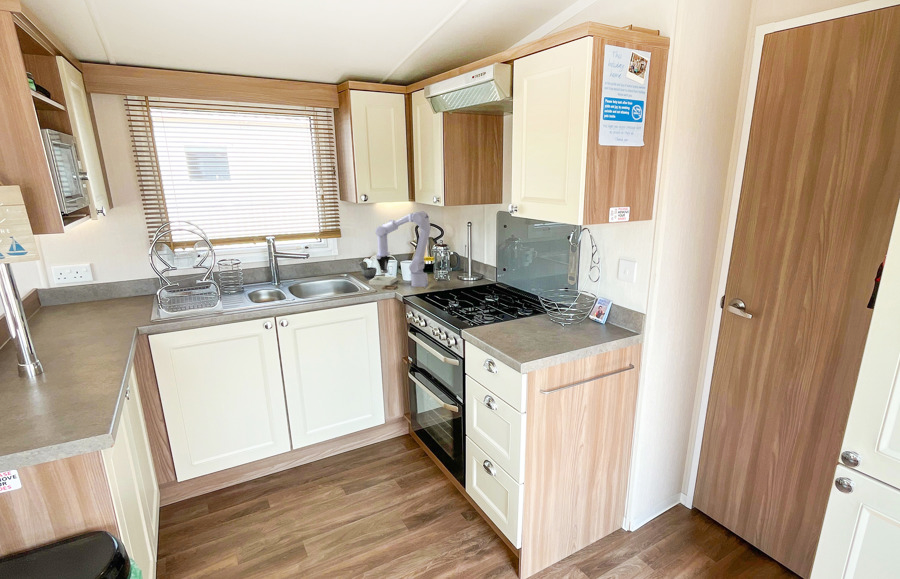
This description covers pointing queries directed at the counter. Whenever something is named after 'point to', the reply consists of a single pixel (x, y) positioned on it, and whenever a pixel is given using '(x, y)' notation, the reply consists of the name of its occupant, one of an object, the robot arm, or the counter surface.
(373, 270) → the mortar and pestle
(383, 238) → the robot arm
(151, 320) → the counter surface
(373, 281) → the bin
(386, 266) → the strut
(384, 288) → the stud block
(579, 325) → the counter surface
